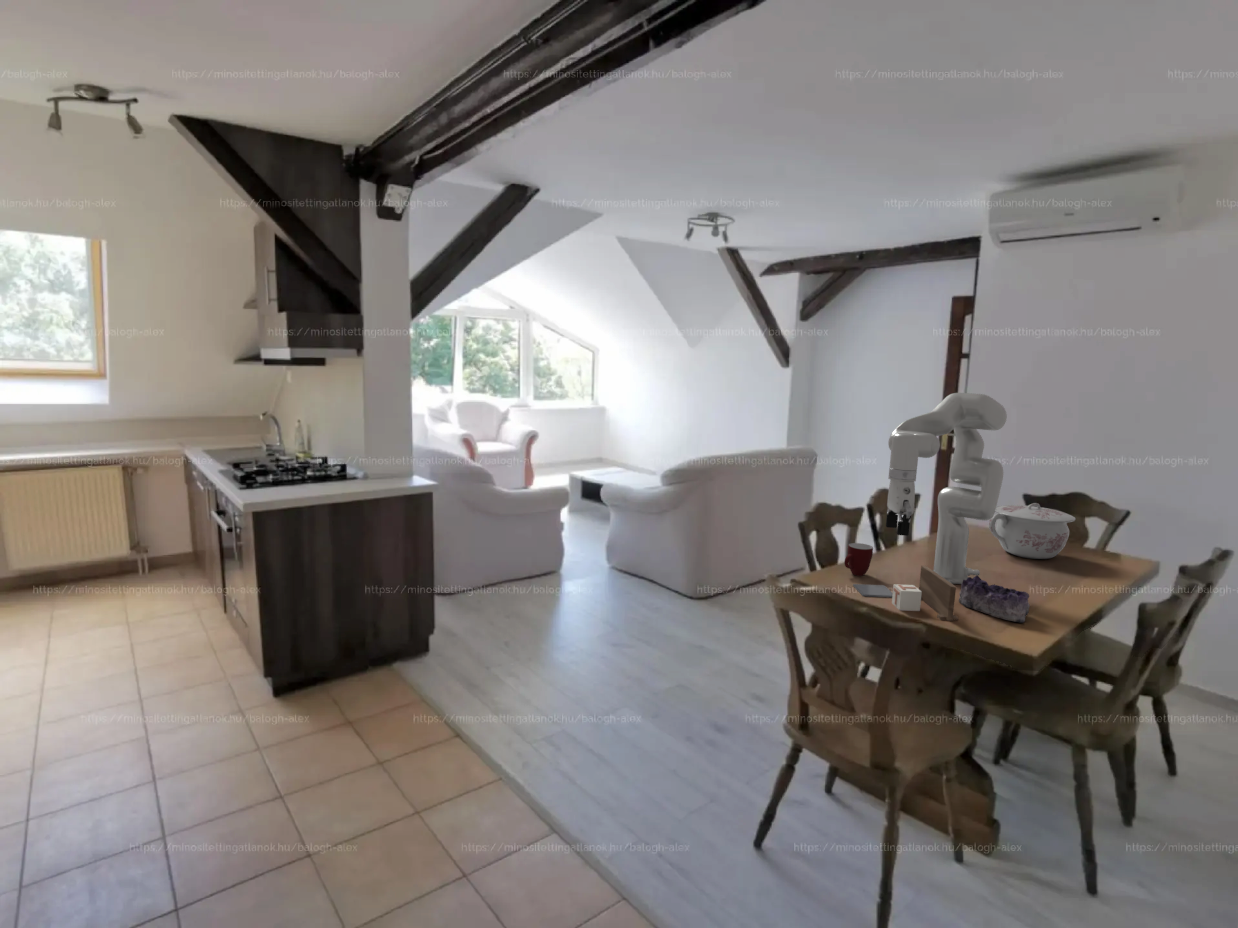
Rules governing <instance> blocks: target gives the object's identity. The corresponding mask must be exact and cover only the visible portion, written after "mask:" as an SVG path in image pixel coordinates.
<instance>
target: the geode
mask: <svg viewBox="0 0 1238 928" xmlns="http://www.w3.org/2000/svg"><path fill="white" fill-rule="evenodd" d="M979 576H980V575H974V577H973V578H972V577H970V576H968V577H969V578H967V580H963V582H962V584H961V587H960V591H959V598H958V603H960V604H961V605H962V606H963V607H966V608H969V609H972V610H974V611H979V612H981V613H984V614H986V615H989V616H992V617H994V618H998V619H1002V620H1006V621H1008V622H1009V621H1010V622H1015V623H1019V624H1023V623H1025V621H1026V617H1027V616H1028V614H1029V611H1030V603H1029V598H1030V595H1029V593H1028V592H1027V591H1022V590H1016V588H1008V587H1004V586H1003V585H998V584H997V585H996V584H995V583H994V584H990V585H989V584H988V582H987V581H986V580H983V579H981V578H980V577H979Z"/></svg>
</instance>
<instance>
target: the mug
mask: <svg viewBox="0 0 1238 928" xmlns="http://www.w3.org/2000/svg"><path fill="white" fill-rule="evenodd" d="M873 547H874V546H872V545H870V544H867V543H860V542H853V543H848V545H847V555H846V556H845V559H844V566H845V568H847V569H849V570H850V573H851V574H852V575H854V576H857V577H863V576H865V575H866V574H867V572H868V570H869V568H870V565H871V562H872V558H873V554H874V552H873V551H874V548H873Z"/></svg>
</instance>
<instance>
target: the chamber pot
mask: <svg viewBox="0 0 1238 928" xmlns="http://www.w3.org/2000/svg"><path fill="white" fill-rule="evenodd" d="M995 512H996V513H994V515H993V517H992V518H991V519H990V520H988V529H989V531H990V532H991V534H992V536H993V537H994V538H996V539H997V540H998V541H999V544H1000V546H1001V547H1002V549H1003V550H1004V551H1005V552H1007V553H1009V554H1011V555H1013V556H1016V557H1020V558H1025V559H1031V560H1047V559H1052V558H1054V557H1056V556H1058V554H1059V553H1060V552H1061V551H1062V550H1064V548H1065V546H1066V544H1067V542H1068V539H1069V536H1070V529H1069V526H1068V523H1072V522H1075V521H1076V517H1075V516H1073V515H1071V514H1069V513H1066V512H1064V511H1061V510H1057V509H1052V508H1047V507H1041V505H1040V504H1039V503H1037V502H1033V503H1031V504H1028V505H1024V504H1023V505H1020V504H1010V505H1009V504H1008V505H1007V504H1006V505H999V506H996V510H995Z"/></svg>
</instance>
